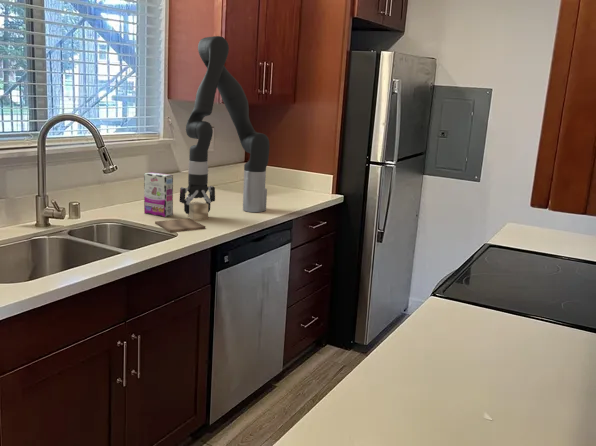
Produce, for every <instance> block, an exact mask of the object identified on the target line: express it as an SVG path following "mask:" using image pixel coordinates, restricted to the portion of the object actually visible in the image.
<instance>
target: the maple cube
mask: <svg viewBox="0 0 596 446" xmlns="http://www.w3.org/2000/svg"><path fill="white" fill-rule="evenodd" d="M205 202H206V201H202V200H201V201H191V202H190V203H189V214H187V218H190V219H192V220H194V221H199V220H208V219H209V212H208V204H207V203H205Z"/></svg>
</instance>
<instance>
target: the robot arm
mask: <svg viewBox="0 0 596 446" xmlns="http://www.w3.org/2000/svg"><path fill="white" fill-rule="evenodd" d="M197 50H198V51H197V52H198V54H199V57H200V58H201V59H200V60H201V61H202V62H203V64H204V66H205V68H206V69H207V70H206V72H205V74H204V76H203V78H202V80H201V82H200V84H199V85H198V88H197V91H196V93H195V100H194V104H193V105H194V106H193V109H192V111H191V113H190V115H189V117H188V119H187V122H186V125H185V132H186V135H187V137H188V138H190V139H194V140H195V139H196V140H197V143H196V144H194V145H191V146H190V147H189V160H188V161H189V162H188V170H187V171H188V175H187V176H188V177H187V178H188V179H187V180H188V181H187V184H188V185H187V187H182V186H181V187H180V188H179V189H180V190H179V203H181V204H184V206H183V208H184V209H183V210H184V211H183V212H184V213H185V214H187V215H188V214H189V203H190V202H192V201H193V200H194V199H203V200H204V202H205V203H207V204H208V213H210V211H211V204H212V203H213V202H215V201H216V187H215V186H213V185H209V186H208V180H209V163H208V162H209V161H208V159H209V157H208V156H209V148H210V145H211V141H212V139H213V135H214V133H213V132H214V131H213V126H212V124H211V123H210V122H209V121H203V119H204V118H205V117H208V116H211V115H212V112H213V107H214V102H215V97H216V92H217V91H218V92H219V95H220V97H221V100H222V101H223V104H224V106H225V109H226V111H227V112H228V114H229V116H230V119H231V121H232V123H233V125H234V127H235V130H236V133H237V136H238V139H239V142H240V145H241V147H242V149H243V150H244V151H245V152H246V153H248V154H249V159H248V161H247V162H244V166H243V188H242V189H243V192H242V193H243V194H242V210H243V212H244V211H245V212H248V213H261V212H264V211H267V200H268V198H267V196H268V189H267V188H266V180H267V179H266V178H267V177H266V176H267V175H266V174H267V167H268V165H269V158H270V157H269V156H270V140H269V137H268V136H267V134H264V133H261V132H257V131H256V130H255V129H254V126H253V125H252V123H251V120H250V116H249V113H250V112H249V111H250V108H249V101H248V98H247V95H246V93H245V91H244V89H243V87H242V85H241V84H240V83H239V81H238V80H237V79H236V78H235V77H234V76H233V75H232V74H231V73H230V72H229V71H228V69H227V68H226V66H225V64H226V61H227V59H228V55H229V51H230V48H229V43H228V41H227V40H226V38H225V37H223V36H220V35H216V36H215V35H214V36H207V37H203V38H201V39H200V40H199V42H198V45H197ZM187 192H188V194H187ZM208 192H209V195H208V194H207V193H208ZM186 194H187V195H186Z"/></svg>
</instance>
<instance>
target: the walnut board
mask: <svg viewBox="0 0 596 446" xmlns="http://www.w3.org/2000/svg"><path fill="white" fill-rule="evenodd" d="M154 224H155V225H157V226H158V227H160V228H162V229H164V230H165V231H167V232H169V233H175V232H185V231H194V230H195V231H196V230H204V229H205V230H206V226H205V225H204V224H201V223H199V222H197V220H193V219H191V218H189V217H187V218H180V219H178V218H177V219H169V220H168V219H167V220H158V221H154Z"/></svg>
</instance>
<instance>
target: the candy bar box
mask: <svg viewBox="0 0 596 446" xmlns="http://www.w3.org/2000/svg"><path fill="white" fill-rule="evenodd" d="M143 182H144V183H143V189H144V190H143V194H144V195H143V196H144V197H143V198H144V199H143V200H144V201H143V202H144V203H143V204H144V208H143V209H144V210H143V211H144V214H146V215H152V216H156V217H157V216H158V217H164V218H168V217H171V216H173V215H174V175H172V174H167V173H160V172H159V173H158V172H154V171H153V172H152V171H151V172H145V173H144V174H143Z"/></svg>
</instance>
